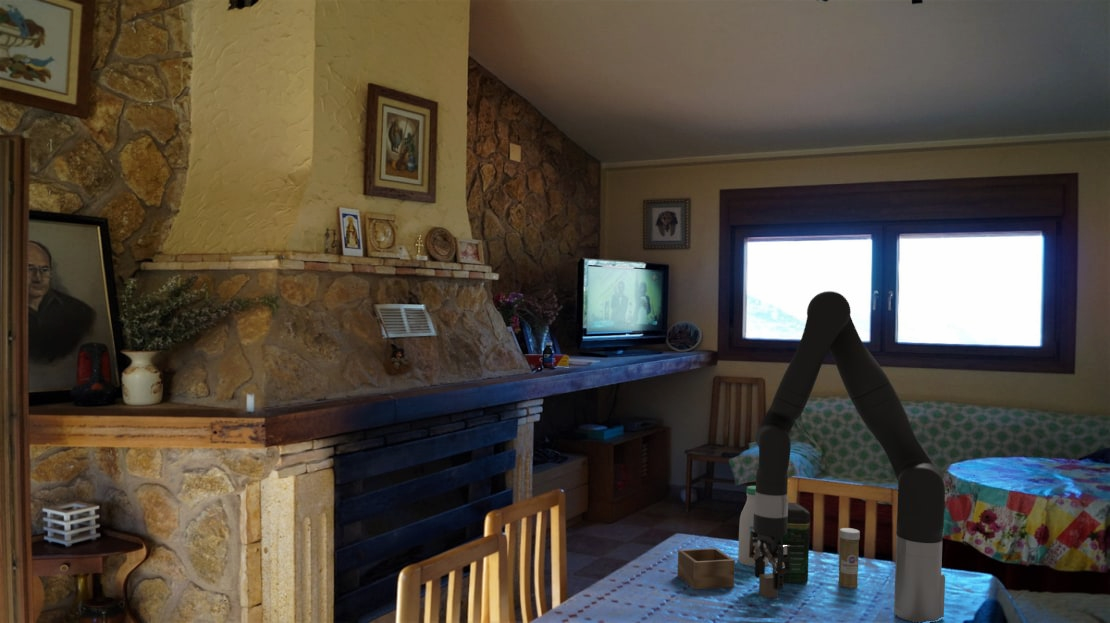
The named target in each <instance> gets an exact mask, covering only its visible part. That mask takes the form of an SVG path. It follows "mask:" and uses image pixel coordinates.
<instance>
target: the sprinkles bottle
mask: <svg viewBox="0 0 1110 623" xmlns="http://www.w3.org/2000/svg"><path fill="white" fill-rule="evenodd" d="M860 532H861V531H860V530H858V529H855V528H851V527H841V528H840V529H839V549H838V583H837V584H838V585H839V586H840V587H841V588H842V587H843V588H848V589H854V588H858V586H859V584H858V577H859V575H858V574H859V554H860V553H859V552H860V551H859V542H860V538H861V536H860Z"/></svg>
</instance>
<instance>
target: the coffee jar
mask: <svg viewBox="0 0 1110 623" xmlns="http://www.w3.org/2000/svg"><path fill="white" fill-rule="evenodd" d="M810 527H811V513H810V512H809V510H808V509H807V508H805V507H804V506H801V504H799V503H798V502H788V524H787V534H786V535H784V536H783V537H782V544H783V545H789V546H790V572H789V573H784V583H785V584H794V585H796V584H797V585H804V584H808V581H809V554H810V552H809V550H810V532H811V530H810ZM777 558H778V557H777ZM774 559H776V558H774ZM776 565H777V568H778V563H776ZM784 565H785V567H786V562H784ZM773 573H774V571H773V570H772V574H773Z"/></svg>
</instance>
